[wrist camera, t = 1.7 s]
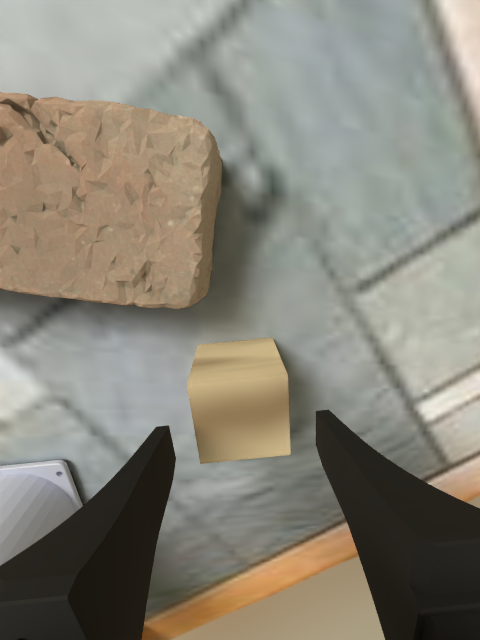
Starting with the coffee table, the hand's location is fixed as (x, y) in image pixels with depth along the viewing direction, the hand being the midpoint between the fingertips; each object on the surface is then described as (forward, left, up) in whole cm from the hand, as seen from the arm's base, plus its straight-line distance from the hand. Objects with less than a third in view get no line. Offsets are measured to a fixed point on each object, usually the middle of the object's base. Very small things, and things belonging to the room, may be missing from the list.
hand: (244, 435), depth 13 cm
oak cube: (0, 0, -6) cm, 6 cm away
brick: (+11, +9, -6) cm, 16 cm away
